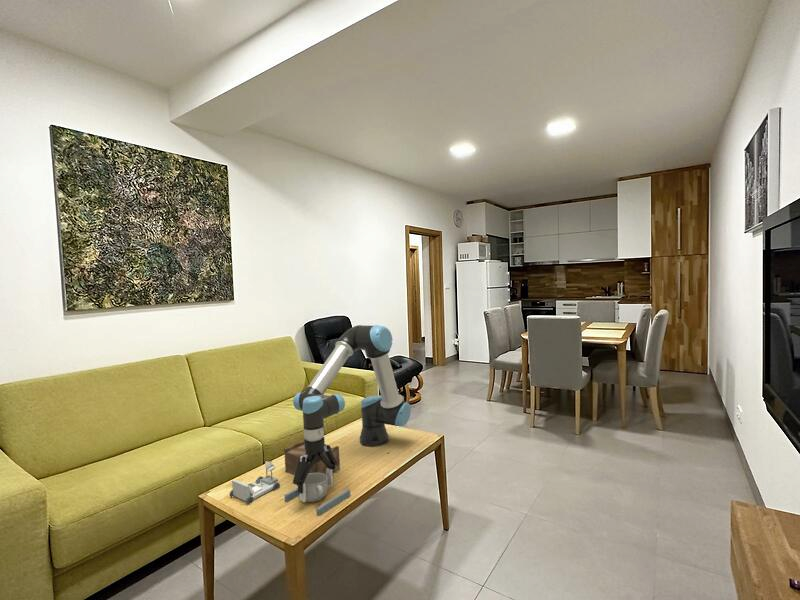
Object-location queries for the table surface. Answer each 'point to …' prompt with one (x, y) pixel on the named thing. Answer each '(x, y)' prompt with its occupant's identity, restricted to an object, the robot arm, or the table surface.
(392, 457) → the table surface
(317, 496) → the teacup
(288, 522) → the table surface
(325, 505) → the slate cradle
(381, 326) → the robot arm
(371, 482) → the table surface
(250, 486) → the toy rover
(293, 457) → the walnut stand
